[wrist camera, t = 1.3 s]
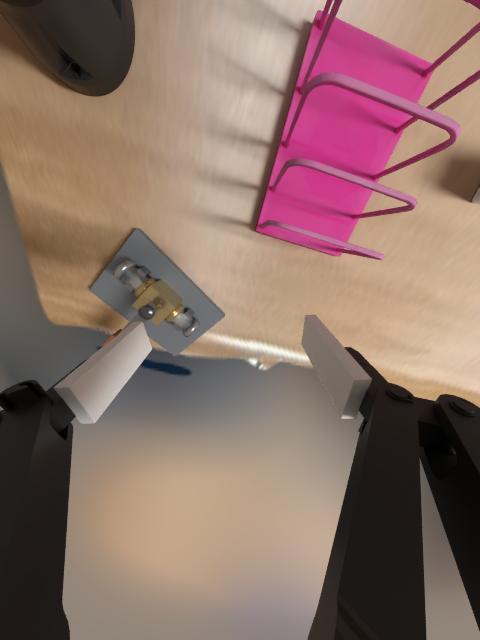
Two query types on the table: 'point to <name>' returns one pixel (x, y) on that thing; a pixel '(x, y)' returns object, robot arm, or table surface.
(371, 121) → the file sorter
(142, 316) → the valve lever
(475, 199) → the ink box
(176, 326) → the valve pipe
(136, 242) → the mounting board
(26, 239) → the table surface
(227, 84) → the table surface
